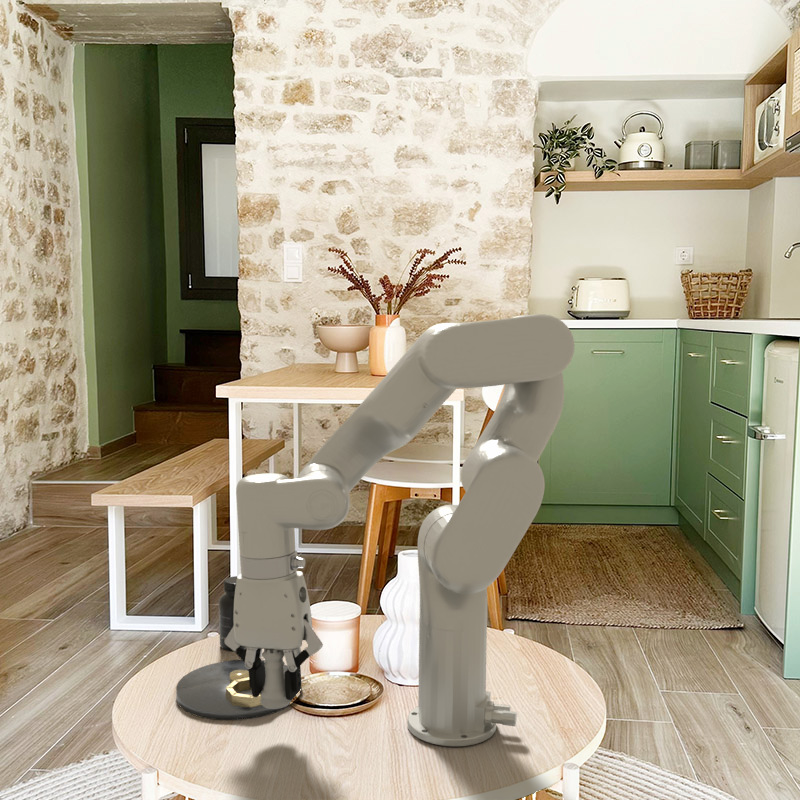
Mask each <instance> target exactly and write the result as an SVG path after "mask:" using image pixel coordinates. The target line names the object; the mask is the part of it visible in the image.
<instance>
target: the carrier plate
mask: <svg viewBox="0 0 800 800" xmlns="http://www.w3.org/2000/svg"><path fill="white" fill-rule="evenodd" d="M261 661H264V663H265V662H266V661H265V659H261ZM283 669H284V675H285V672H286V671H287V670H288V667H287V664H284V666H283ZM265 674H266V668H265ZM175 689H176V691H175V693H176V698H177V699H176V698H175V699H176V702H178V703H177V705H178V704H179V705H180V706H181V707H180V706H179V705H178V706H179V707H180V708H181V709H182V708H183V709H184V711H185V712H186V713H188V712H189V713H188V714H190V713H191V715H194V716H196V715H197V717H199V716H200V717H199V718H203V719H210V720H220V721H221V720H222V721H236V720H237V721H238V720H247V719H249V720H250V719H254V718H260V717H264V716H268V715H271V714H274V713H277V712H280V711H281V710H284V709H286V708H288V707H290V706H291V705H287V706H286V707H283V708H279V709H268V708H265V707H264V706H263V705H262V704H261V702H260V700H261V696H260V695H259V696H257V697H252V688H250V684H249V669H248V668H246V667H245V662H244V661H243V660H242V659H231V660H226V661H225V660H224V661H219V662H214V663H211V664H207V665H204V666H201V667H198V668H196V669H194V670H192V671H190V672H188V673H187V674H185V675H184V676H183V677H181V679H180V680H178V683H177V684H176V687H175ZM183 709H182V710H183Z"/></svg>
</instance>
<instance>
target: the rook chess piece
mask: <svg viewBox="0 0 800 800" xmlns="http://www.w3.org/2000/svg"><path fill="white" fill-rule="evenodd" d="M261 657H262V658H263V660H265V661H266V662H265V664H264V666H265V668H266V677H265V684H264V686H263V689H262V691H261V693H260V696H261V700H260V702H261V704H262V705H263V706H264V707H265V708H268V709H279V708H283V707H286V706H287V705H289V704H290V702H291V701H292V700H287V699H286V692H285V675H284V669H283V666H284V665H286V664H285V663H286V662H285V661H284V660H283V659H284V658H285V655H284V652H283V650H274V649H263V651H262V654H261ZM286 708H287V707H286Z"/></svg>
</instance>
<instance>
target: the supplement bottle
mask: <svg viewBox="0 0 800 800" xmlns="http://www.w3.org/2000/svg"><path fill="white" fill-rule="evenodd" d="M237 576H238V575H236V576H230V577H227V578H225V579H223V592H224V593H223V594H222V595H221V596H220V597H219V600H218V622H219V623H218V624H219V625H218V629H219V646H220V647H221V649H223V650H225V651H228V652H234V653H236V652H235V651H233V650H232V649H231V648H229V647H228V646H227V645H226V644H225V642H224V641H225V639H226V637H227V636H228V634H229V632H230V631H231V629H232V628H233V626H234V597H235V588H236V582H237Z"/></svg>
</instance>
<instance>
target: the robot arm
mask: <svg viewBox="0 0 800 800" xmlns="http://www.w3.org/2000/svg"><path fill="white" fill-rule="evenodd" d="M574 353H575V339H574V335H573V334H572V331H571V330H570V328H569V326H568V325H567V324H565V323H564V321H562V320H561V319H559V318H558V317H556V316H553V315H551V314H544V313H542V314H541V313H538V314H537V313H536V314H520V315H517V316H513V317H509V318H500V319H492V320H481V321H468V322H443V323H442V322H440V323H437V324H434V325H432V326H430V327H429V328H427V329H426V330H425V331H424V332H423V333H421V335H420V336H418V338H417V339H416V340H415V341H414V342H413V343H412V345H411V346H410V347H409V348H408V350H406V352H405V353H404V354H403V355H402V356H401V357H400V359H399V360H398V361H397V362H396V363H395V364H394V366H393V367H392V368H391V369H390V370H389V371H388V372H387V374H385V376H384V377H383V379H382V380H380V381H379V383H378V384H377V385H375V388H374V389H373V390H372V391H371V392H370V393H369V394H368V395H367V397H366V398H365V399H364V400H363V401H362V402H361V403H360V404H359V405H358V406H357V407H356V408H355V409H354V411H353V412H352V413H351V415H350V416H349V417H348V418H347V419H346V420H345V421H344V422H343V423H342V424H341V425H340V426H339V427H338V428H337V430H336V431H335V432H334V433H333V434H332V435H331V436H330V437H329V438H328V440H327V441H326V442H325V443H323V445H322V446H321V447H320V449H318V451H317V452H316V453H315V454H314V455H313V456H312V458H311V459H310V460H309V461H308V462H307V464H305V466H303V468H302V469H301V471H300V472H299V474H298V475H297V477H296V478H291V479H290V478H289V477H288V476H286V474H285V475H284V474H281V473H276V472H275V473H274V472H273V473H270V472H269V473H268V472H267V473H257V474H251V475H247V476H244V477H242V478H240V479H239V480H238V482H237V484H236V491H235V495H236V511H237V528H238V529H237V530H238V542H239V543H238V545H239V561H240V562H239V565H240V573H239V574H238V575H236V576H237V582H236V588H235V597H234V626H233V628H232V629H231V631H230V632H229V634H228V636H227V637H226V639H225V641H224V642H225V644H226V645H227V646H228V647H229V648H231V649H232V650H233V651H235V652H234V653H236V655H237V656H238V657H239V659H240V660H243V661H244V662H245V667H246V668H248V669H249V684H250V688H252V697H257V696H259V695H260V693H261V691H262V689H263V686H264V684H265V677H266V674H265V666H264V664H265V663H264V661H261V660H262V653H263V650H264V649H274V650H283V652H284V658H285V663H286V665H287V667H288V670H287V671H286V672H285V692H286V699H287V700H292V699H293V698H294V697H295V696H296V694H297V693H298V692H299V691H300V689H301V690H302V672H301V665H303V664H304V662H305V661H306V660H307V659H309V658H311V656H313V655H315V654H316V653H317V652H319V651H320V650H321V649H322V648H323V645H324V644H323V642H322V641H321V639H320V637H319V636H318V634H316V632H315V630H314V629H313V620H312V610H311V605H310V604H311V603H310V602H311V601H310V598H309V593H308V592H309V591H308V588H307V583H306V580H305V576H304V573H303V571H299V569H304V568H305V567H306V558H305V557H300V556H298V551H297V550H296V534H295V533H296V532H295V529H302V530H309V531H310V530H311V531H324V530H329V529H333V528H336V527H338V526H339V525H340V524H342V522H343V521H345V519H346V518H347V516H348V514H349V512H350V509H351V508H350V507H351V497H350V493H351V491H352V490H353V489H354V488H355V487H356V486H357V485H358V483H359V482H360V481H361V479H362V478H363V477H364V476H365V475H366V474H367V473H368V472H369V471H370V469H372V468H373V467H374V466H375V465H376V464H377V463H378V462H379V461H380V460H382V458H384V457H385V456H387V455H389V454H390V453H391V452H394V451H395V450H399V449H400V448H402V447H403V446H405V445H407V444H408V443H409V442H411V441H412V440H413V439H414V438H415V437H416V436H417V435H418V434H419V433H420V432H421V431H422V429H423V428H424V426H426V424H427V423H428V422H429V420H431V418H432V417H433V416H434V415H435V414H436V412H438V410H439V409H440V407H442V405H443V404H444V403H445V402H446V401H447V400H448V399H449V398H450V397H451V395H452V394H453V393H454V392H455V391H456V390H457V389H473V388H486V387H488V388H489V387H494V386H495V387H496V386H504V387H503V393H502V395H501V397H500V400H499V402H498V404H497V406H496V408H495V410H494V413H493V414H492V416H491V418H490V420H489V421H488V423H487V424H486V426H485V428H484V430H483V432H482V433H481V434H480V436H479V438H478V439H477V441H476V443H475V445H474V446H473V447H472V449H471V451H470V452H469V454H468V455H467V457H466V459H465V460H464V462H463V464H462V467H461V472H460V481H461V485H462V488H463V489H464V491H465V493H464V494H463V496H462V498H461V500H460V501H459V503H458V504H445V505H441V506H439V507H436V508H435V509H433V510H432V511H431V512H430V513H429V514H428V515H427V516H426V517H424V520H423V521H422V523H421V524H420V527H419V531H418V536H417V564H418V565H417V566H418V580H419V618H418V619H419V620H418V621H419V622H418V624H419V625H418V627H419V629H418V705H417V706H416V707H414V708H413V709H412V710H411V711H410V712H409V713H408V715H407V723H406V724H407V728H408V730H409V732H410V733H411V734H412V735H413V736H415V737H416V738H418V739H419V740H421V741H423V742H426V743H428V744H433V745H437V746H443V747H467V746H472V745H476V744H480V743H483V742H484V741H487V740H488V739H490V738H491V737H492V736H493V735H494V734H495V733H496V729H497V724H498V725H502V726H509V727H516V726H517V717H518V716H517V713H518V712H517V711H512V710H511V705H510V704H509V705H508V704H503V703H502V704H499V703H498V704H497V703H495V702H494V701H491V691H487V637H488V635H487V634H488V631H487V630H488V627H487V626H488V587H490V586H491V585H492V584H493V583H494V582H495V581H496V579H497V578H499V576H500V575H501V573H502V572H503V570H504V569H505V567H506V566H507V564H508V563H509V561H510V559H511V558H512V557H513V554H514V553H515V551H516V550H517V548H518V546H519V545H520V543H521V541H522V539H523V538H524V536H525V534H526V533H527V531H528V529H529V528H530V526H531V524H532V523H533V521H534V519H535V517H536V516H537V514H538V511H539V509H540V508H541V505H542V502H543V498H544V494H545V477H544V476H545V475H544V473H543V470H542V467H540V464H539V463H538V461H539V459H540V458H541V456H542V454H543V452H544V451H545V448H546V446H547V444H548V443H549V440H550V439H551V437H552V435H553V433H554V431H555V429H556V427H557V425H558V423H559V420H560V418H561V415H562V412H563V408H564V401H565V385H564V376H563V372H564V371H565V370H566V369H567V368H568V366H569V365H570V363H571V362H572V359H573V357H574ZM303 641H305V642H306V643H307V647H305V648H304V649H303V650H302V649H301V647H302V645H303ZM233 651H232V652H233Z"/></svg>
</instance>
